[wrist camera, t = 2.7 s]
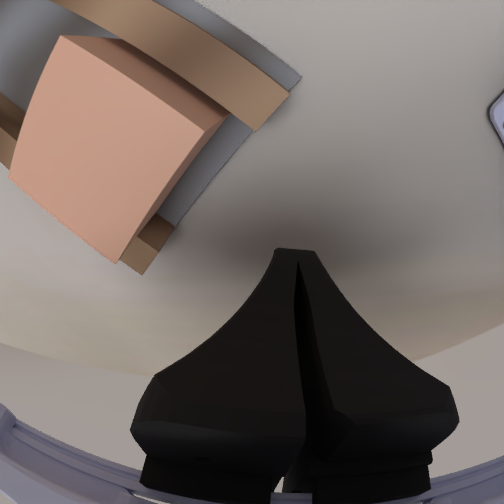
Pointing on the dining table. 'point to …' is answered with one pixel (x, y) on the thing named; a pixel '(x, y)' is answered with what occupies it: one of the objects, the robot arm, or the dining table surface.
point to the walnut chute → (166, 52)
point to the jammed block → (109, 138)
